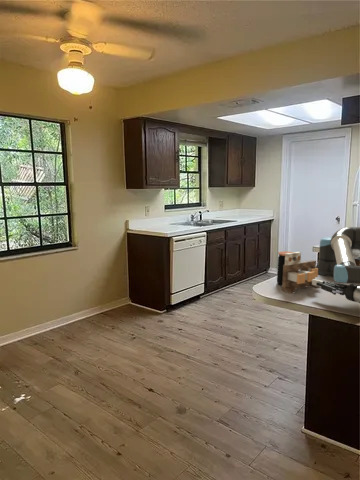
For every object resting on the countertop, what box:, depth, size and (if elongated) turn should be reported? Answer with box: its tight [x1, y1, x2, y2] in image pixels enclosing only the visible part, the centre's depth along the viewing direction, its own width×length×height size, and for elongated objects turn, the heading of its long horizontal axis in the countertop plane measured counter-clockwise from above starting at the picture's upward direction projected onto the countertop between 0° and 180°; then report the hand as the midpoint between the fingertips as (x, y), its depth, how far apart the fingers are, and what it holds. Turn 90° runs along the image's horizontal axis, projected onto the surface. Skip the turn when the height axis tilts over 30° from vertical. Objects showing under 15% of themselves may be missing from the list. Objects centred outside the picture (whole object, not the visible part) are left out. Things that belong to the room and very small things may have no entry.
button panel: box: [281, 251, 320, 294], centre depth 191 cm, size 24×6×20 cm, turn 122°
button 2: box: [308, 268, 319, 278], centre depth 197 cm, size 5×8×5 cm, turn 32°
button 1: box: [288, 272, 305, 284], centre depth 185 cm, size 5×8×5 cm, turn 32°
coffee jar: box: [276, 250, 294, 286], centre depth 200 cm, size 11×11×18 cm
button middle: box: [298, 270, 316, 282], centre depth 189 cm, size 5×8×5 cm, turn 32°
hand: (312, 281), depth 176 cm, fingers closed
